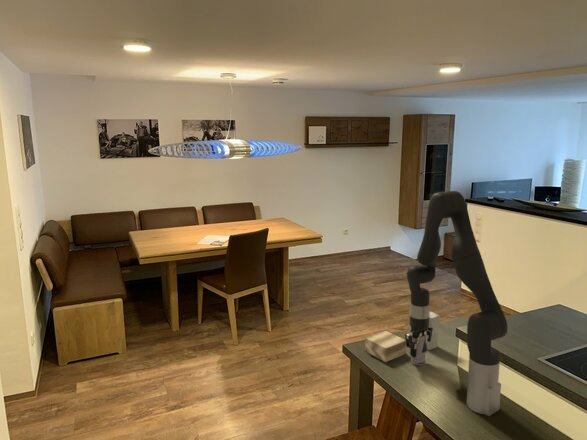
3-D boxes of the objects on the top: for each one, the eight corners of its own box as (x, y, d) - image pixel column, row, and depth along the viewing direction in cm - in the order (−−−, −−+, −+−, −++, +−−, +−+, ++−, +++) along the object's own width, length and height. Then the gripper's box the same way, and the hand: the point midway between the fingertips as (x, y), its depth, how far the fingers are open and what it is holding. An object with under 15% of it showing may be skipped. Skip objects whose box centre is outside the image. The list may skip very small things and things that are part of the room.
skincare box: (414, 344, 193) (415, 311, 190) (422, 340, 197) (423, 308, 194) (430, 350, 186) (431, 317, 184) (439, 346, 190) (440, 314, 187)
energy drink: (427, 362, 177) (428, 334, 175) (421, 367, 173) (422, 338, 171) (415, 357, 180) (416, 330, 178) (408, 362, 176) (409, 334, 174)
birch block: (406, 353, 184) (406, 340, 183) (385, 362, 178) (385, 348, 177) (385, 343, 194) (385, 330, 193) (365, 350, 188) (365, 337, 187)
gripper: (414, 322, 166) (413, 363, 169) (439, 313, 174) (437, 353, 177) (399, 315, 172) (398, 356, 175) (424, 307, 180) (422, 346, 183)
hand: (418, 354), depth 176 cm, fingers closed on energy drink, 5 cm apart
